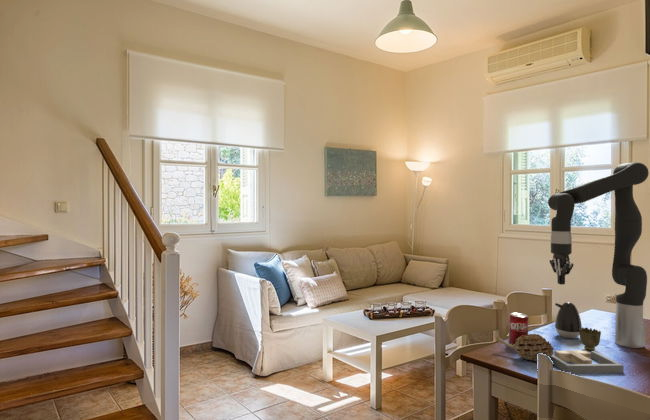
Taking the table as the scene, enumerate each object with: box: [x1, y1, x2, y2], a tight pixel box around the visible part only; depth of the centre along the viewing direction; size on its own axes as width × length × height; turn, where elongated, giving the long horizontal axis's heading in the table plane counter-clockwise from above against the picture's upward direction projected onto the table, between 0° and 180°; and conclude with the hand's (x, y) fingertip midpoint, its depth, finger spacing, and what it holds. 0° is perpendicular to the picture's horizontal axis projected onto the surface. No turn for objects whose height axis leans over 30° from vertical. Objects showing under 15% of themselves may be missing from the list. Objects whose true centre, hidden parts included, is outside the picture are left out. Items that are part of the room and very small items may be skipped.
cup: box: [579, 326, 602, 352], centre depth 170 cm, size 8×7×8 cm
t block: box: [553, 350, 593, 364], centre depth 155 cm, size 12×10×3 cm
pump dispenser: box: [554, 301, 583, 340], centre depth 187 cm, size 10×10×15 cm
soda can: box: [508, 312, 529, 345], centre depth 177 cm, size 7×7×12 cm
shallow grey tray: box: [550, 350, 625, 374], centre depth 154 cm, size 20×14×2 cm
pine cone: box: [495, 333, 555, 362], centre depth 160 cm, size 22×10×10 cm, turn 45°
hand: (561, 284), depth 176 cm, fingers closed
